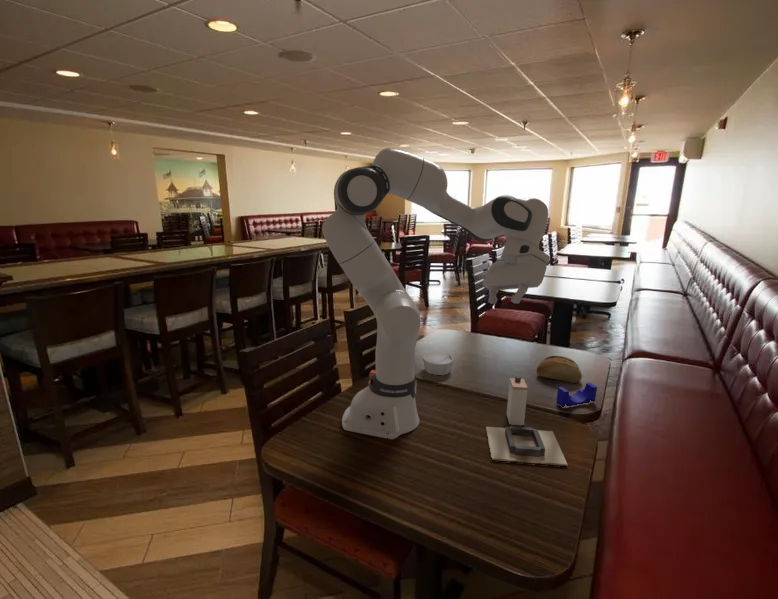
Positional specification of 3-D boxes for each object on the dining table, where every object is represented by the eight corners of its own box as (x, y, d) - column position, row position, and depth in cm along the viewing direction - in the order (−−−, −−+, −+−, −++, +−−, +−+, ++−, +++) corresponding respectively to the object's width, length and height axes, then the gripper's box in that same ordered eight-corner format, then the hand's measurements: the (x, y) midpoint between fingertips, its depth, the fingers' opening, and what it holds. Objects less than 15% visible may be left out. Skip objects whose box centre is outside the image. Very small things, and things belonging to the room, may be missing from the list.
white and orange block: (509, 424, 116) (513, 383, 113) (506, 414, 121) (510, 374, 118) (523, 425, 116) (527, 384, 112) (520, 415, 121) (524, 375, 118)
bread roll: (535, 370, 152) (537, 350, 149) (579, 376, 147) (582, 355, 145) (536, 381, 143) (538, 360, 141) (582, 387, 138) (585, 366, 136)
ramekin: (454, 377, 146) (455, 364, 144) (423, 377, 146) (423, 363, 144) (450, 364, 156) (451, 352, 155) (421, 364, 157) (422, 351, 155)
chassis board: (491, 460, 100) (492, 451, 100) (485, 429, 114) (486, 420, 113) (567, 467, 98) (568, 457, 98) (552, 433, 112) (553, 424, 111)
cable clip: (584, 397, 132) (586, 380, 130) (594, 404, 128) (597, 386, 126) (552, 402, 129) (555, 385, 127) (562, 409, 124) (564, 392, 123)
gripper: (486, 255, 118) (471, 299, 115) (537, 245, 99) (520, 296, 97) (502, 264, 120) (488, 307, 118) (555, 256, 101) (539, 307, 99)
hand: (502, 302), depth 107 cm, fingers open, 8 cm apart
